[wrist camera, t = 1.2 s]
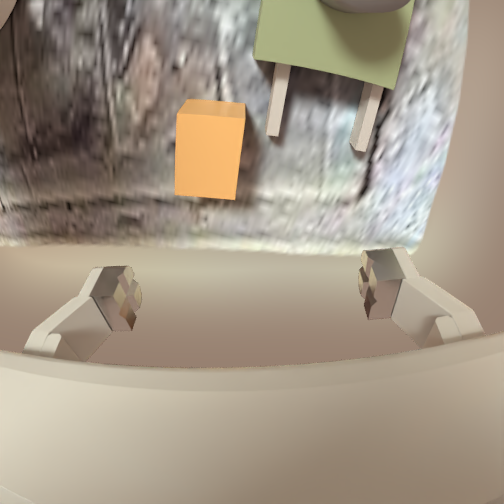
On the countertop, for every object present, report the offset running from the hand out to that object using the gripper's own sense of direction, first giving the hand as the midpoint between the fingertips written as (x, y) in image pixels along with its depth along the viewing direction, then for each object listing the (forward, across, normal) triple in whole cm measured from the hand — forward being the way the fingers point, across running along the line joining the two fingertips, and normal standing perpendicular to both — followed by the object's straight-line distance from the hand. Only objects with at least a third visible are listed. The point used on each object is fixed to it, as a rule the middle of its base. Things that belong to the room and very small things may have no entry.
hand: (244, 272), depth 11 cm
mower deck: (+20, -7, -8) cm, 23 cm away
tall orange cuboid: (+20, +4, +1) cm, 20 cm away
